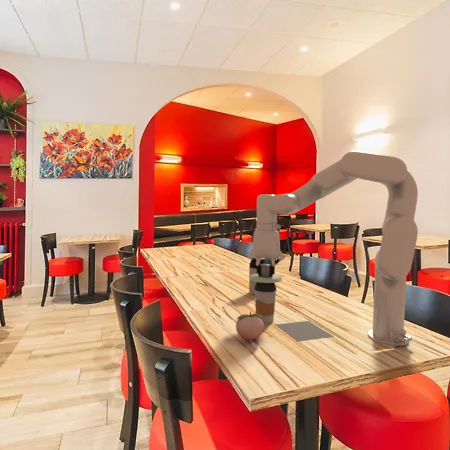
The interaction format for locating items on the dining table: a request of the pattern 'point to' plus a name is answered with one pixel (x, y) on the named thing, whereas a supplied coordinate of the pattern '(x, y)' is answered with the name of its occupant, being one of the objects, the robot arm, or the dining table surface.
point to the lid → (265, 275)
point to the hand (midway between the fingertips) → (265, 275)
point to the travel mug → (253, 271)
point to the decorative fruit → (249, 326)
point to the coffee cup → (265, 301)
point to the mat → (304, 331)
